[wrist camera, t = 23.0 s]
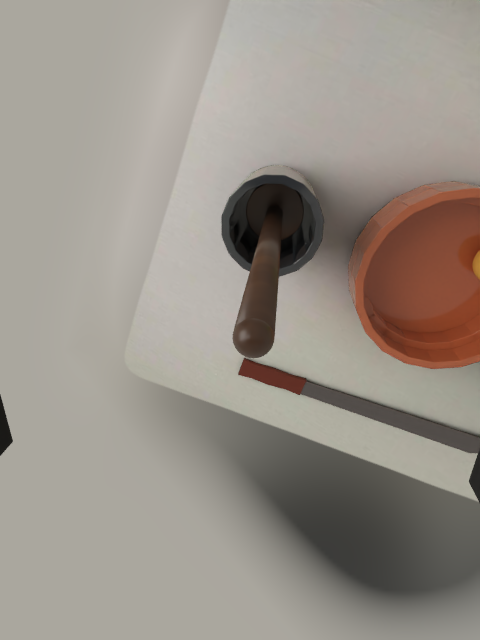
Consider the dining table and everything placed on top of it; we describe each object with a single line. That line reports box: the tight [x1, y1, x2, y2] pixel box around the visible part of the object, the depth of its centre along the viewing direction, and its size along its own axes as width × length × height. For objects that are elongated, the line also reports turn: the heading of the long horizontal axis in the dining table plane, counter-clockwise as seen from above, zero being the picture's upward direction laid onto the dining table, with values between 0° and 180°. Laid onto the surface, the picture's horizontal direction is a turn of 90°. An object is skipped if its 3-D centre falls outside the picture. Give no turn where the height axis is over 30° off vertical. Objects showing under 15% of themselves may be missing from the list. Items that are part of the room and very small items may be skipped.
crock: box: [222, 165, 324, 276], centre depth 39 cm, size 8×8×10 cm
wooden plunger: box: [233, 184, 304, 358], centre depth 29 cm, size 6×6×30 cm
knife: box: [238, 358, 480, 453], centre depth 52 cm, size 3×35×1 cm, turn 72°
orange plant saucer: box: [348, 181, 480, 369], centre depth 42 cm, size 18×18×6 cm
